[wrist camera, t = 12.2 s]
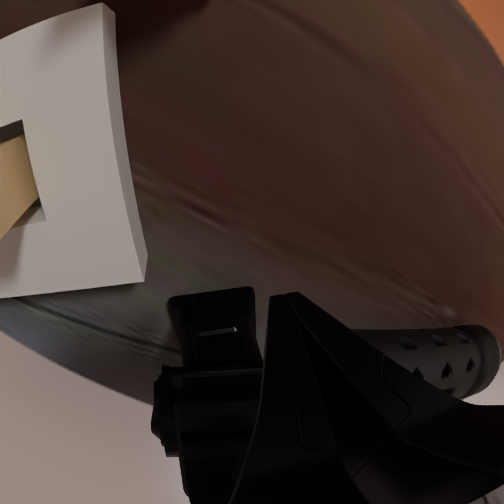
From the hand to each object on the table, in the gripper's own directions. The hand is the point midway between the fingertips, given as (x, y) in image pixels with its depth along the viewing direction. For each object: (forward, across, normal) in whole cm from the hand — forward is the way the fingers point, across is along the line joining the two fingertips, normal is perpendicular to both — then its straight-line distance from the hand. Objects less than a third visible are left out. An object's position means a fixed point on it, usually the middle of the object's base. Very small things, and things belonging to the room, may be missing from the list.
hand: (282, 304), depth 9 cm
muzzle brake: (+12, -18, +20) cm, 30 cm away
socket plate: (+12, +14, -3) cm, 19 cm away
